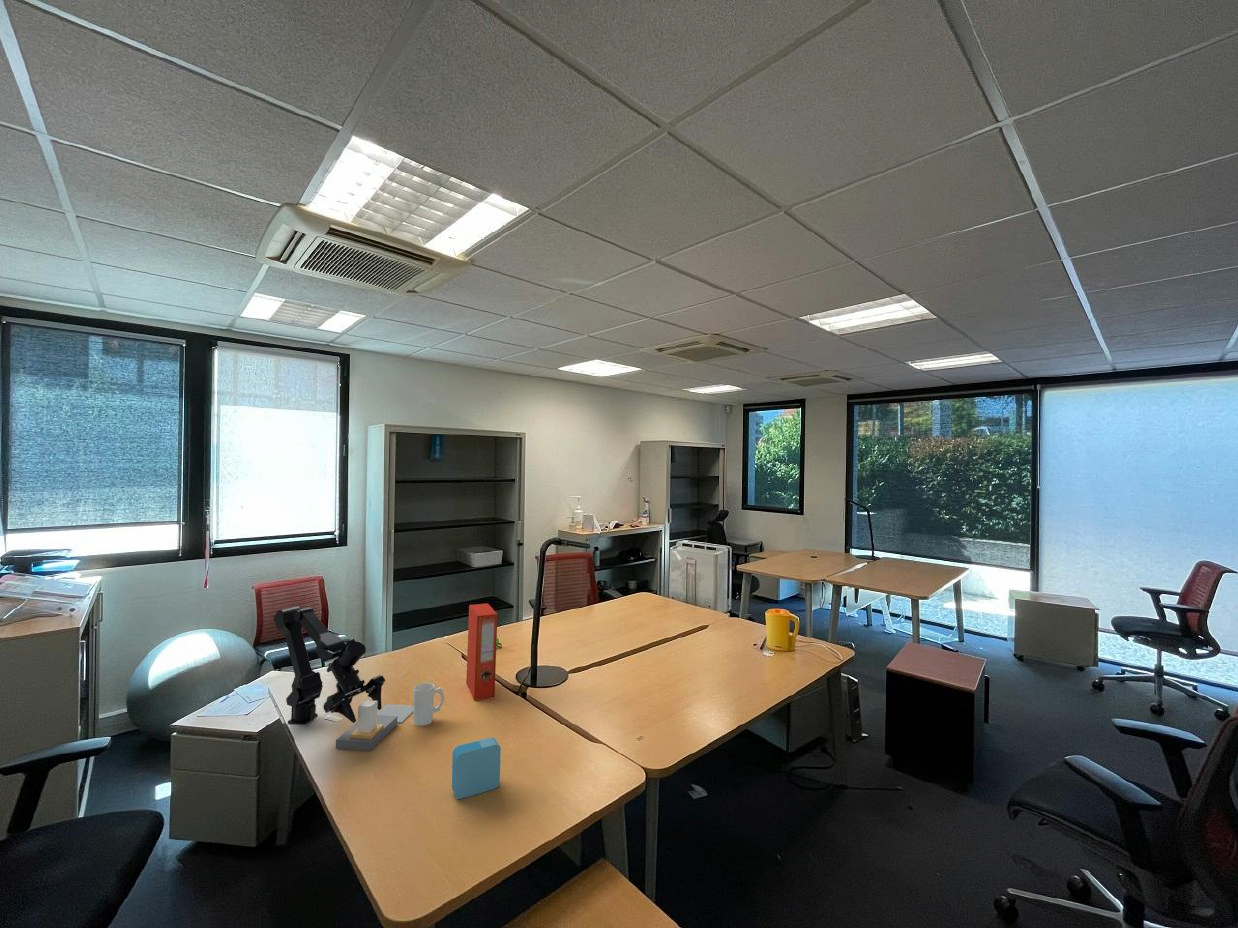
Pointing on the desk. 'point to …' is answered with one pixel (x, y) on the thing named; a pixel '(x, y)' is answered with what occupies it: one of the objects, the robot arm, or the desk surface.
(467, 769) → the data package
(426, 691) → the mug
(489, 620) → the file binder
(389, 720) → the gray slab with hole
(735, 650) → the desk surface
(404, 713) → the mat
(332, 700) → the robot arm
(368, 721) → the white and tan block
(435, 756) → the desk surface
